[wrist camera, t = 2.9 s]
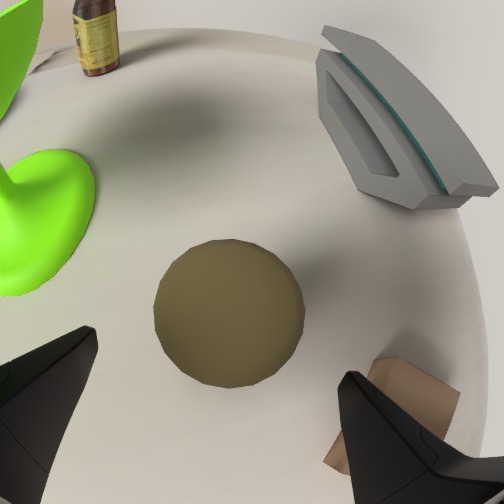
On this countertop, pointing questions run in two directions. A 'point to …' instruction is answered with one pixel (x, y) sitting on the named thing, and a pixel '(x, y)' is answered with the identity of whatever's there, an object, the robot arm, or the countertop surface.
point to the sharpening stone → (394, 129)
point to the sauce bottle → (96, 35)
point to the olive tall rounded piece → (229, 313)
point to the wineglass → (36, 177)
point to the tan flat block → (406, 401)
